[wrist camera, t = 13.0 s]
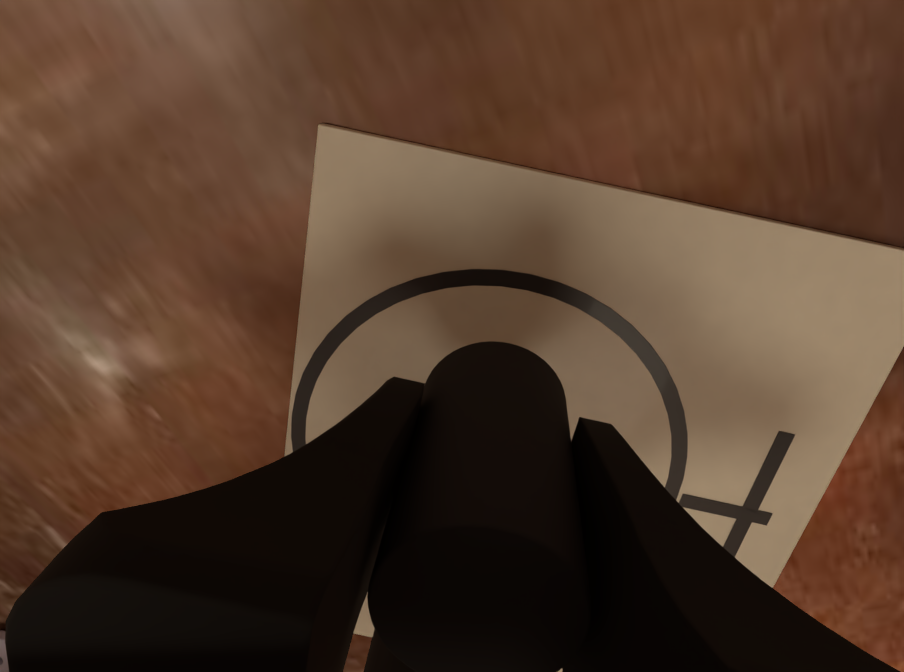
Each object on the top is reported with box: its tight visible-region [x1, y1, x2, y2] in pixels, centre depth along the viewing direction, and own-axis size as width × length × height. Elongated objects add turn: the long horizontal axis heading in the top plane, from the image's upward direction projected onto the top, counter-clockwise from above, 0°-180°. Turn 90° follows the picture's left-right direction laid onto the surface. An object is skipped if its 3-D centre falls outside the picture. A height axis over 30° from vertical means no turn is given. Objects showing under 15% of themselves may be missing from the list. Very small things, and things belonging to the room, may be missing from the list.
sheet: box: [284, 123, 904, 672], centre depth 17 cm, size 15×14×1 cm
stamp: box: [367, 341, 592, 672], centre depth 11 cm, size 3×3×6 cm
